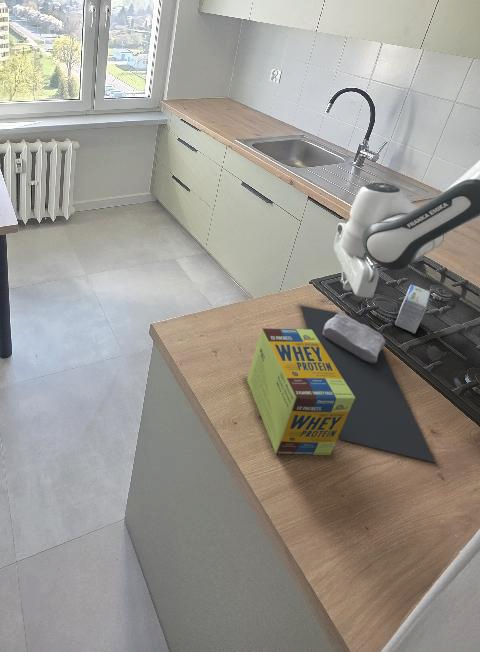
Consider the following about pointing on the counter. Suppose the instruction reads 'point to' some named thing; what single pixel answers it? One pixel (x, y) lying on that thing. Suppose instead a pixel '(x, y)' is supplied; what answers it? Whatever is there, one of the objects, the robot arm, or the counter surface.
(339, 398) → the protein box
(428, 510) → the counter surface
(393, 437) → the mat
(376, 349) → the stone block
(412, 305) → the medicine box
